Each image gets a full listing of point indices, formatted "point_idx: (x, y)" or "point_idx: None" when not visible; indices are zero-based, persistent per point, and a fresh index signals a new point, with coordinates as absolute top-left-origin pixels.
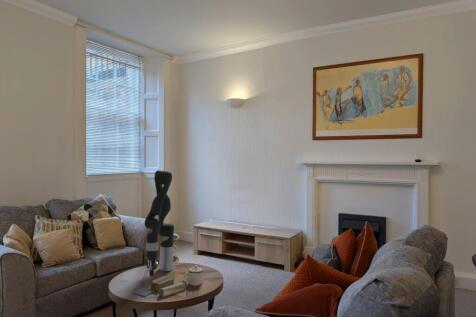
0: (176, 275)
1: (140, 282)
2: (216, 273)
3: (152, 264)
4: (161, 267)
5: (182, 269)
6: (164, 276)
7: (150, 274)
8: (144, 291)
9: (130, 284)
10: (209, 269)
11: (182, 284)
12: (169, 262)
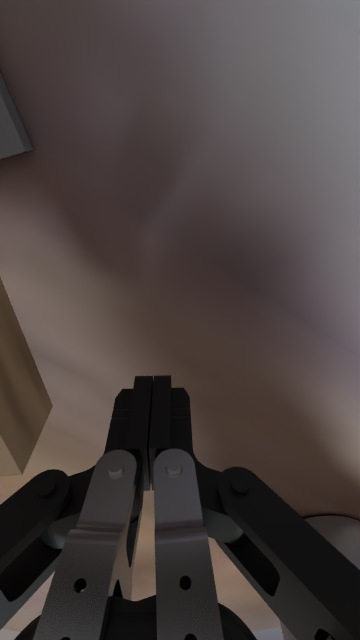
0: (149, 526)
1: (271, 249)
2: (12, 628)
3: (25, 635)
4: (340, 547)
5: (217, 583)
6: (5, 464)
7: (141, 389)
8: None
9: (340, 89)
10: None
11: None
12: (288, 632)
